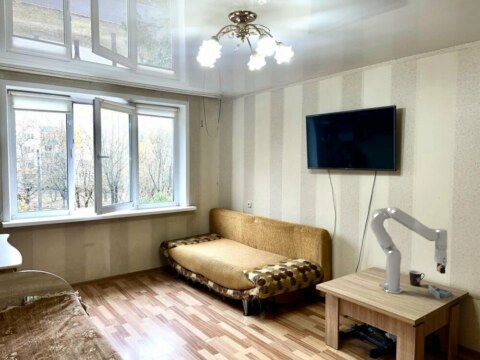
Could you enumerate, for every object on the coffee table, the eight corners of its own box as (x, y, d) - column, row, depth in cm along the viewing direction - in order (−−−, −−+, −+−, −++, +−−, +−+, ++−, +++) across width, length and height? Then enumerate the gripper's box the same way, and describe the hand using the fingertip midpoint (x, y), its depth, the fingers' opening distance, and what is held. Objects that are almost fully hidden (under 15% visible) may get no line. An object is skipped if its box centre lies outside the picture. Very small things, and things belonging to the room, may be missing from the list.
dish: (445, 297, 238) (445, 294, 238) (431, 293, 246) (431, 290, 245) (451, 294, 244) (451, 291, 243) (437, 290, 251) (437, 287, 251)
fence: (436, 299, 235) (436, 293, 235) (427, 290, 251) (427, 285, 250) (440, 299, 235) (440, 293, 235) (431, 290, 250) (431, 285, 250)
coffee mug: (410, 286, 259) (410, 273, 258) (407, 282, 267) (407, 269, 267) (427, 287, 256) (427, 274, 256) (423, 283, 265) (424, 271, 264)
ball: (438, 273, 241) (438, 266, 240) (435, 271, 246) (435, 264, 245) (446, 273, 240) (446, 266, 240) (443, 271, 245) (443, 264, 244)
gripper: (430, 243, 251) (430, 268, 252) (440, 249, 234) (440, 276, 235) (441, 243, 250) (441, 268, 250) (452, 249, 233) (452, 276, 234)
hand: (441, 271), depth 243 cm, fingers closed on ball, 4 cm apart
